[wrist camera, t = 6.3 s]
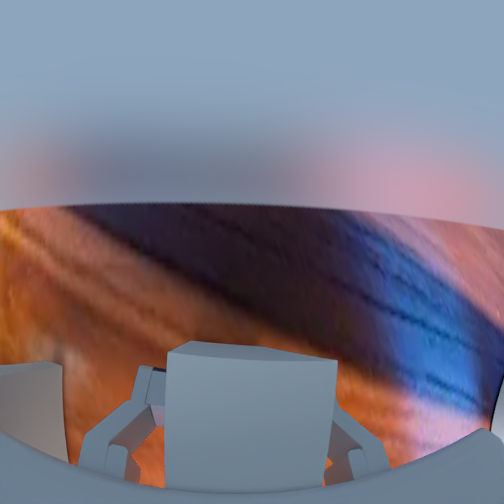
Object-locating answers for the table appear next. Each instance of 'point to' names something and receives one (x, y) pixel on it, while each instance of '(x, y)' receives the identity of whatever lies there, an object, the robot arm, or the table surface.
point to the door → (34, 406)
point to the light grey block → (246, 419)
